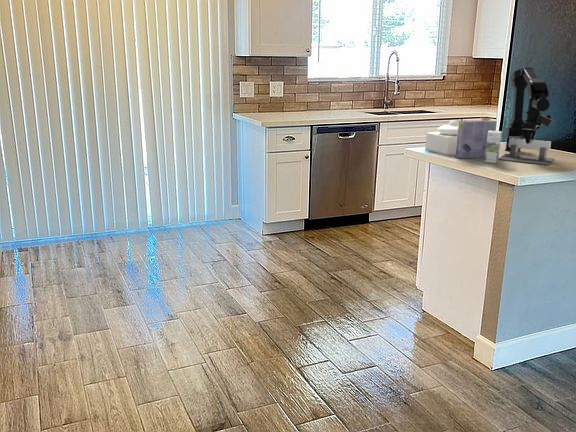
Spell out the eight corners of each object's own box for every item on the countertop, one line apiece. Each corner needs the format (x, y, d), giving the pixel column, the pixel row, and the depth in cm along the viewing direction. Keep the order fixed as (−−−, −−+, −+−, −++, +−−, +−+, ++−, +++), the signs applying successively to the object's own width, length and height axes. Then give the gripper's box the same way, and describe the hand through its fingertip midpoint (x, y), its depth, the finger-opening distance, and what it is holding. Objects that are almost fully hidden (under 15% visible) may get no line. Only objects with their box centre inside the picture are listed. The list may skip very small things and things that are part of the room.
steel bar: (508, 147, 267) (509, 138, 266) (510, 146, 270) (511, 137, 269) (548, 151, 257) (549, 142, 256) (550, 149, 261) (551, 141, 259)
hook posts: (501, 157, 268) (503, 144, 266) (505, 155, 274) (507, 142, 272) (550, 162, 256) (553, 149, 254) (553, 160, 263) (555, 146, 261)
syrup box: (498, 162, 257) (502, 130, 253) (497, 164, 252) (501, 132, 247) (485, 160, 259) (489, 129, 255) (484, 163, 254) (487, 131, 250)
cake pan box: (488, 155, 273) (492, 119, 267) (494, 157, 268) (499, 120, 263) (454, 157, 267) (457, 120, 262) (460, 159, 263) (463, 121, 258)
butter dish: (446, 155, 273) (449, 122, 268) (424, 149, 289) (427, 118, 284) (475, 153, 279) (478, 121, 275) (451, 147, 295) (454, 117, 291)
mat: (497, 160, 261) (497, 158, 261) (501, 157, 267) (501, 156, 267) (548, 165, 250) (548, 164, 250) (550, 163, 255) (550, 161, 255)
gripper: (549, 112, 247) (544, 146, 251) (556, 108, 262) (551, 141, 266) (523, 110, 253) (518, 144, 257) (531, 107, 268) (526, 139, 272)
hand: (529, 142), depth 263 cm, fingers open, 9 cm apart
